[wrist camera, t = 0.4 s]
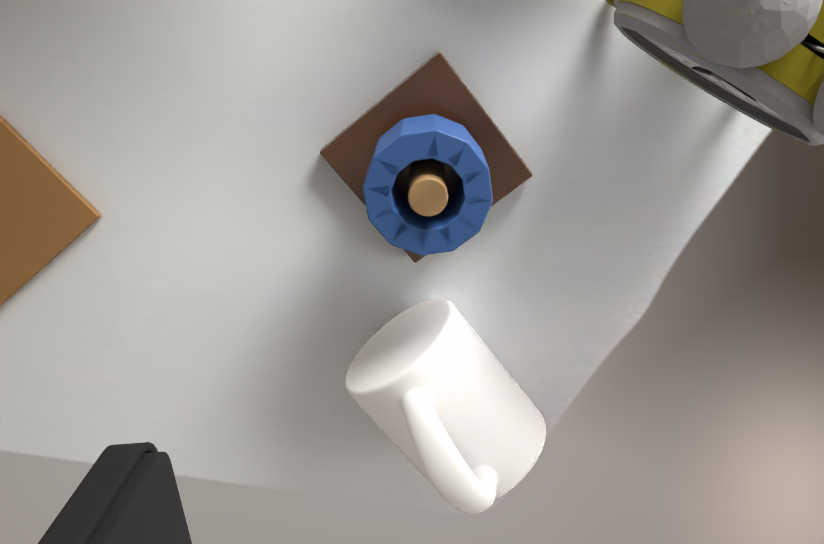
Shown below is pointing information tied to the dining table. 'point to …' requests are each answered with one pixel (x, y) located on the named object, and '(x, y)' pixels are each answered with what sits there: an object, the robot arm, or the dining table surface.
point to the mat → (33, 212)
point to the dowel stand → (430, 178)
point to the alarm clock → (741, 54)
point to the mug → (448, 404)
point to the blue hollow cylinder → (464, 204)
